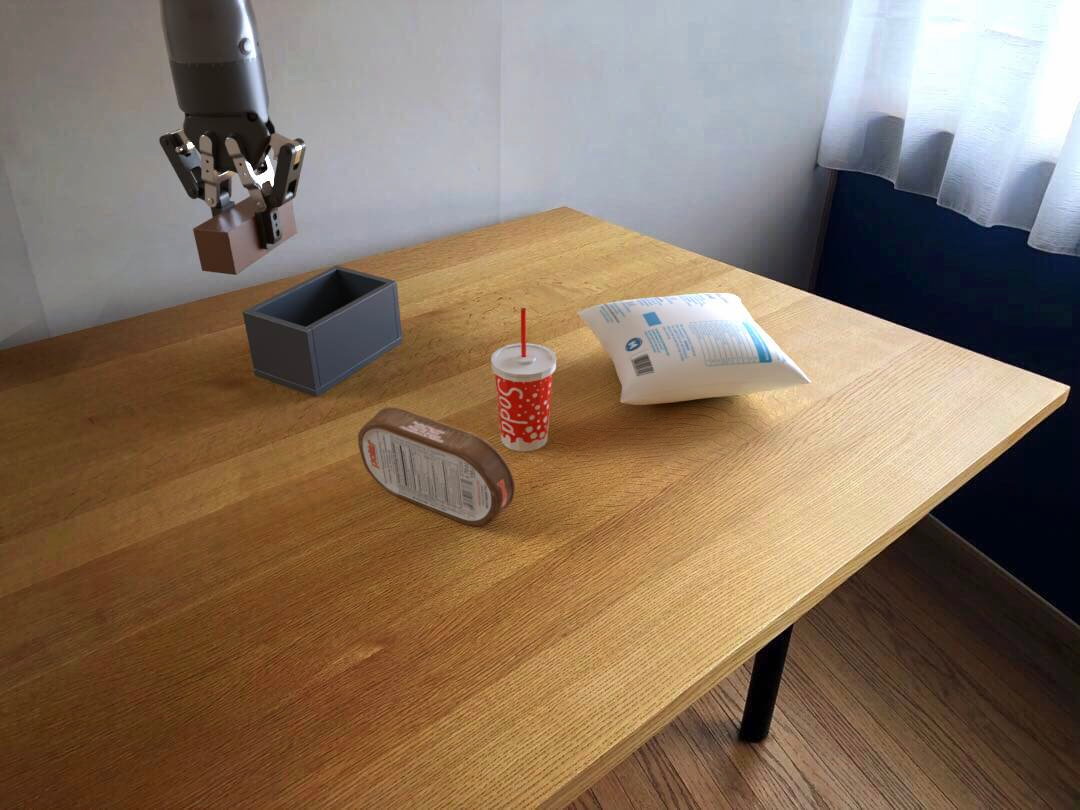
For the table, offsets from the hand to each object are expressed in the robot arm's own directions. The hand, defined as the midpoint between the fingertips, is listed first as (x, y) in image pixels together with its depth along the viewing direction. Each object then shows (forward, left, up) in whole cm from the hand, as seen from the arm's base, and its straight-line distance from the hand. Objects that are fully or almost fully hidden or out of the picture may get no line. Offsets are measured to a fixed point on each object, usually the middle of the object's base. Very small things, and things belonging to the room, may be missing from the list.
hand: (250, 243), depth 81 cm
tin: (+22, -13, -18) cm, 31 cm away
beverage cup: (+27, -1, -17) cm, 32 cm away
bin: (+1, +10, -17) cm, 20 cm away
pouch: (+41, +15, -17) cm, 47 cm away
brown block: (0, 0, -1) cm, 1 cm away
